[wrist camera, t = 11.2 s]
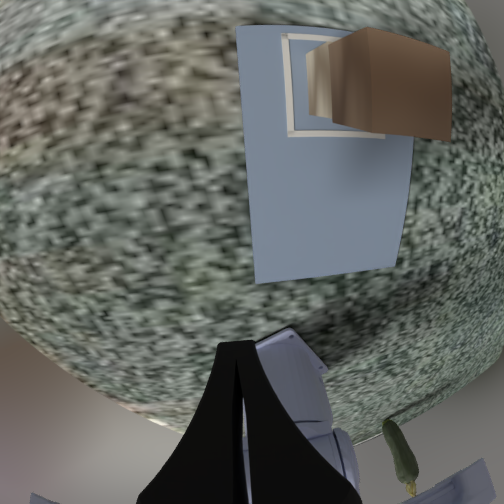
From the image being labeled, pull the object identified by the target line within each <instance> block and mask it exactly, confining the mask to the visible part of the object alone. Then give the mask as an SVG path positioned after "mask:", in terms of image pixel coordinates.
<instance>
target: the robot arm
mask: <svg viewBox="0 0 504 504" xmlns="http://www.w3.org/2000/svg"><path fill="white" fill-rule="evenodd" d="M290 335H291V336H290ZM327 371H328V367H327V366H326V365H325V364H324V363H323V362H322V360H321V359H320V358H319V357H318V356H317V355H316V354H315V353H314V352H313V351H312V349H311V348H310V347H309V346H308V345H307V344H306V343H305V342H304V341H303V340H302V338H301V337H300V336H299V335H298V334H297V333H296V332H295V331H294V330H293V329H292V328H286V329H284V330H282V331H280V332H278V333H276V334H274V335H272V336H270V337H268V338H266V339H264V340H262V341H260V342H258V343H256V344H255V341H253V340H243V341H232V342H220V343H219V344H218V345H217V351H216V356H215V360H214V364H213V367H212V371H211V374H210V377H209V380H208V382H207V385H206V388H205V391H204V393H203V396H202V398H201V401H200V403H199V405H198V408H197V410H196V412H195V414H194V416H193V418H192V420H191V422H190V424H189V426H188V428H187V430H186V432H185V434H184V435H183V437H182V439H181V440H180V442H179V444H178V445H177V447H176V449H175V450H174V452H173V453H172V455H171V456H170V458H169V459H168V460H167V462H166V463H165V464H164V466H163V467H162V469H161V470H160V471H159V472H158V474H157V475H156V476H155V478H154V479H153V480H152V481H151V482H150V483H149V485H147V487H146V488H145V489H144V490H143V491H142V492H141V493H140V494H139V496H138V499H137V502H136V504H362V500H361V498H360V492H359V482H360V478H359V477H360V476H359V469H358V463H357V459H356V455H355V452H354V448H353V445H352V442H351V439H350V437H349V435H348V433H347V432H346V431H344V430H341V428H335V429H333V432H332V428H331V426H332V422H333V415H332V411H331V407H330V404H329V400H328V397H327V393H326V390H325V386H324V383H323V379H322V376H321V375H322V374H324V373H326V372H327ZM243 412H244V425H245V437H243V438H242V436H243ZM495 498H496V494H495V490H494V487H493V484H492V481H491V478H490V475H489V472H488V469H487V467H486V464H485V461H484V459H483V458H481V459H479V460H477V461H476V462H474V463H473V464H471V465H470V466H468V467H466V468H465V469H463V470H460V471H458V472H456V473H455V474H453V475H451V476H449V477H448V478H446V479H444V480H443V481H441V482H439V483H437V484H436V485H435V486H434V487H432V488H430V489H429V490H427V491H425V492H423V493H421V494H419V495H417V496H415V497H412V498H410V499H408V500H406V501H404V502H402V503H399V504H489V503H491V502H492V501H493V500H494V499H495ZM30 504H59V503H57V502H53V501H51V500H48V499H46V498H44V497H41V496H39V495H37V494H35V493H31V497H30Z"/></svg>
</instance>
